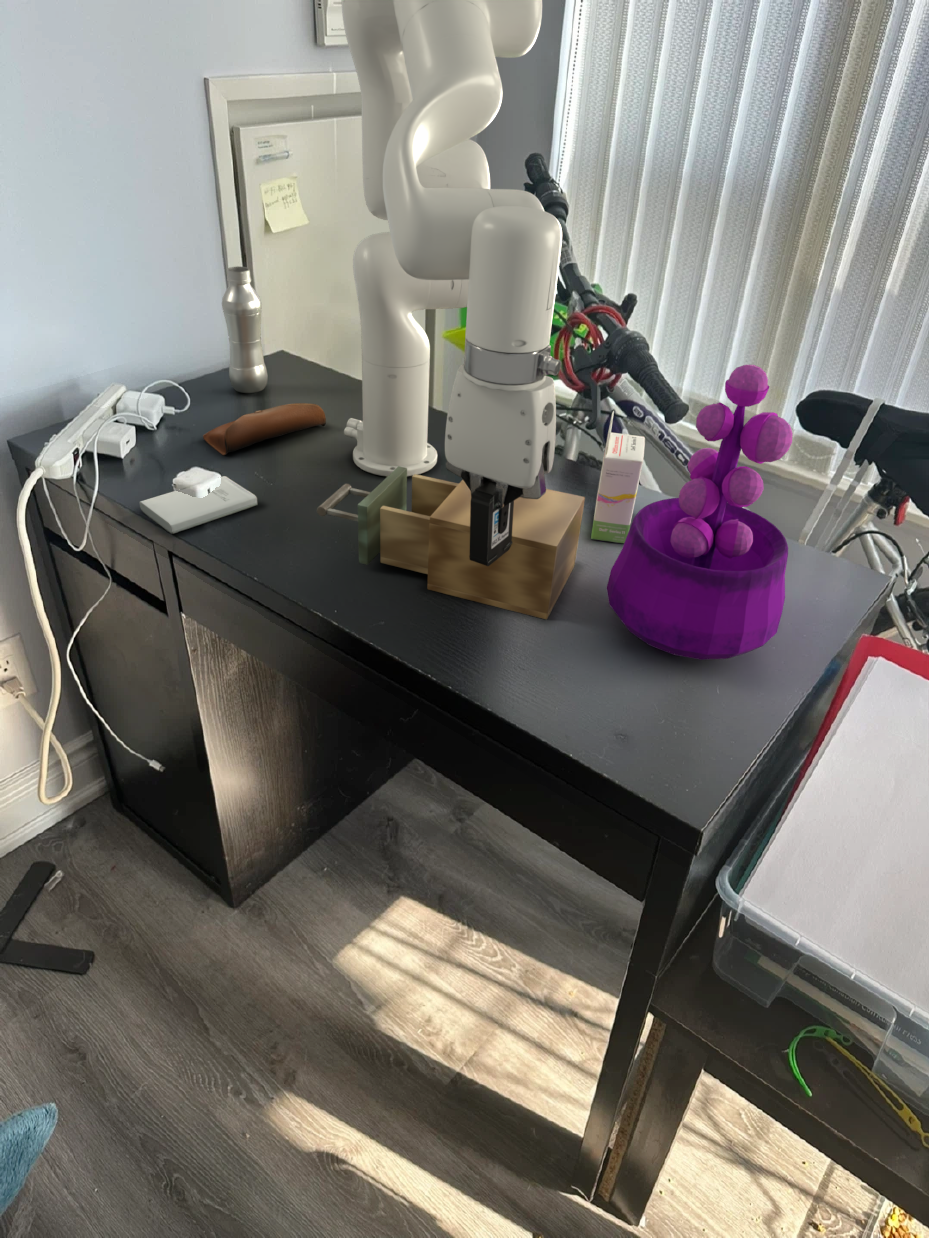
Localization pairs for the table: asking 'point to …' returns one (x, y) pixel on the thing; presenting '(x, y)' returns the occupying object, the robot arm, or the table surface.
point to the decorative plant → (710, 542)
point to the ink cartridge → (488, 526)
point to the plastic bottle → (244, 332)
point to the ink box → (618, 486)
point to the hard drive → (197, 506)
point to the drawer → (394, 518)
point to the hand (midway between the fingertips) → (489, 534)
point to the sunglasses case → (264, 426)
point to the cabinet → (507, 553)
